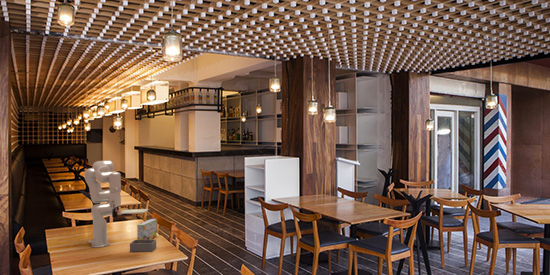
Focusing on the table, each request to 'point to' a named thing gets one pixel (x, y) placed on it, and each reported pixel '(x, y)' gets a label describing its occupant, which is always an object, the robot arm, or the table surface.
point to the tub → (143, 246)
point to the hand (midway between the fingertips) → (116, 216)
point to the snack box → (147, 230)
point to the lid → (131, 211)
